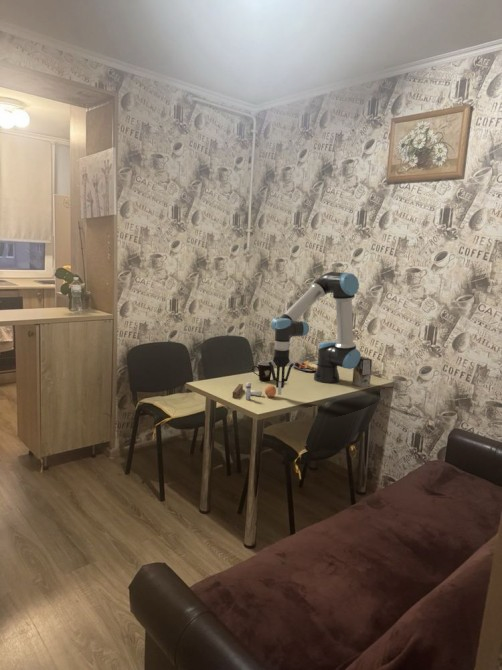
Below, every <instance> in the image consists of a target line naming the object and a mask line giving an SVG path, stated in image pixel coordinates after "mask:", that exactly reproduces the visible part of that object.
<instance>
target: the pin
mask: <svg viewBox="0 0 502 670" xmlns="http://www.w3.org/2000/svg"><path fill="white" fill-rule="evenodd" d="M244 394H245V395H246V389H245V390H244ZM262 395H263V392H262V391H259V390H254V389H251V396H256V397H262Z"/></svg>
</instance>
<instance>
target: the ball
mask: <svg viewBox="0 0 502 670" xmlns="http://www.w3.org/2000/svg"><path fill="white" fill-rule="evenodd" d="M264 394H265V396H267V397H269V398H273V397H274V396H275V395H276V394H277V388H276V386H274V385H272V384H269V385H267V386H265V388H264Z"/></svg>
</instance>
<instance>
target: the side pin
mask: <svg viewBox="0 0 502 670" xmlns="http://www.w3.org/2000/svg"><path fill="white" fill-rule="evenodd" d="M245 390H246V394H245V400H246V401H251V396H252V395H251V390H252V383H251V382H248V381H247V382H245Z"/></svg>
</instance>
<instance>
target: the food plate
mask: <svg viewBox="0 0 502 670" xmlns="http://www.w3.org/2000/svg"><path fill="white" fill-rule="evenodd" d="M293 363H294V365H293V366H292V368H293V367H294V368H296V369H298V370H299V371H305V372H315V371H316V369H317V366H318V361H310V360H309V359H306V360H304V361H303V360H302V361H295V362H293Z"/></svg>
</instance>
